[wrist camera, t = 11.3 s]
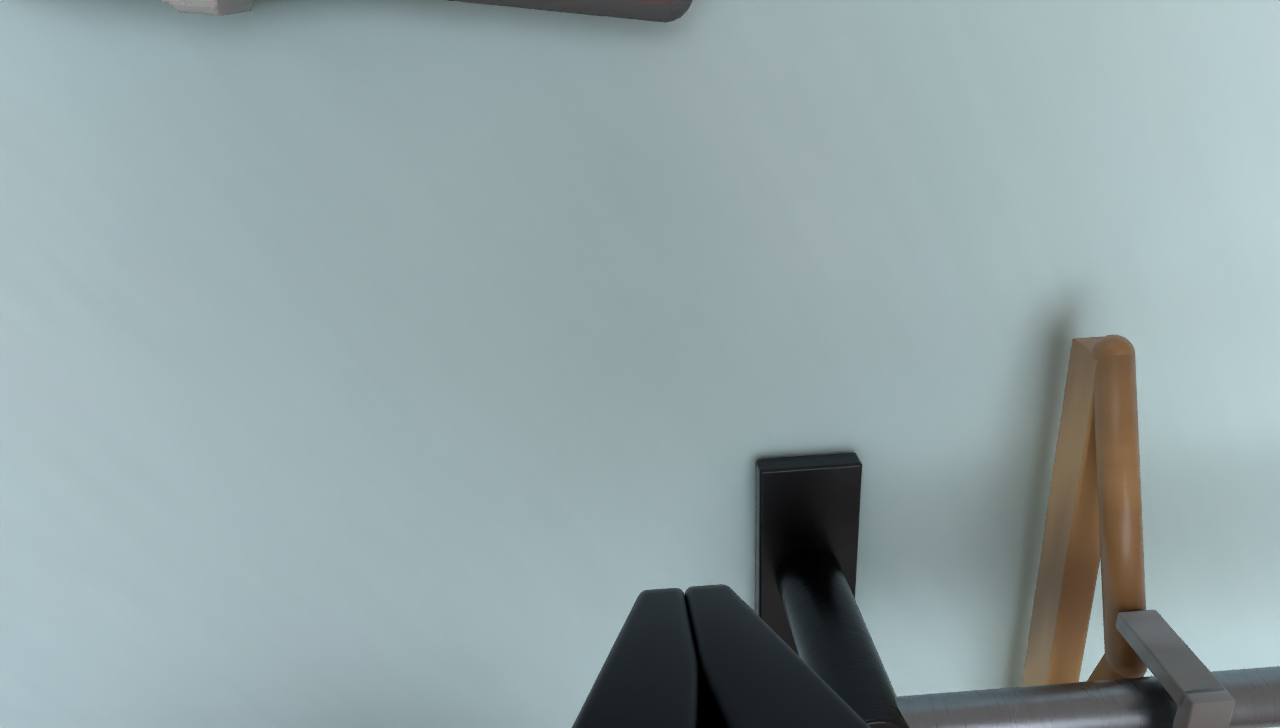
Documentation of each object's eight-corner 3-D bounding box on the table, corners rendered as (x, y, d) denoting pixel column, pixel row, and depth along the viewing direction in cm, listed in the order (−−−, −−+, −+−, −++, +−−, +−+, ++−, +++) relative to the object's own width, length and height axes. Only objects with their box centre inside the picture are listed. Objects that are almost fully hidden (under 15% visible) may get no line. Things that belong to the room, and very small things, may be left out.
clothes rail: (1509, 601, 25) (1777, 787, 20) (754, 660, 25) (807, 871, 19) (1587, 400, 23) (1917, 545, 17) (755, 458, 22) (815, 629, 17)
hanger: (1037, 764, 25) (1162, 983, 20) (1008, 767, 25) (1125, 986, 20) (1110, 317, 20) (1303, 448, 15) (1073, 320, 20) (1253, 452, 15)
